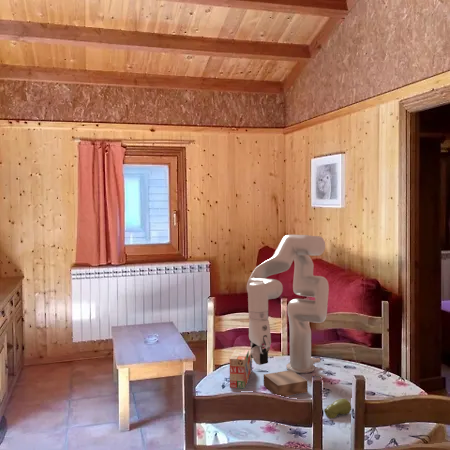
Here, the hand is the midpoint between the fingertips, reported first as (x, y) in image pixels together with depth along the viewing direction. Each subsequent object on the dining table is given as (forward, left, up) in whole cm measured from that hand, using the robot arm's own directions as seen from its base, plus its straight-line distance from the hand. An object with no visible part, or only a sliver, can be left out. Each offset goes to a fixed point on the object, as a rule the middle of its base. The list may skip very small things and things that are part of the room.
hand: (259, 360), depth 185 cm
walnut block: (-13, -4, -15) cm, 21 cm away
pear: (-18, +24, -15) cm, 34 cm away
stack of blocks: (-2, -21, -15) cm, 26 cm away
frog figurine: (0, 0, -2) cm, 2 cm away
